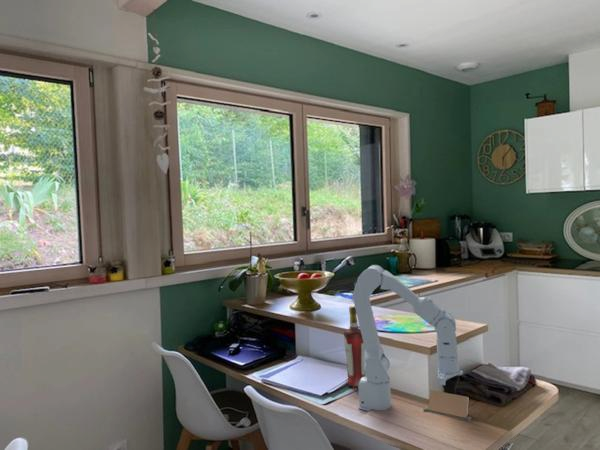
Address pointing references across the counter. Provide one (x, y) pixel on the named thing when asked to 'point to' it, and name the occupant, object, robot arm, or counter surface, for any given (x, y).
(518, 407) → the counter surface
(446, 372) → the robot arm
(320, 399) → the counter surface
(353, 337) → the liquor
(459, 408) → the tile
